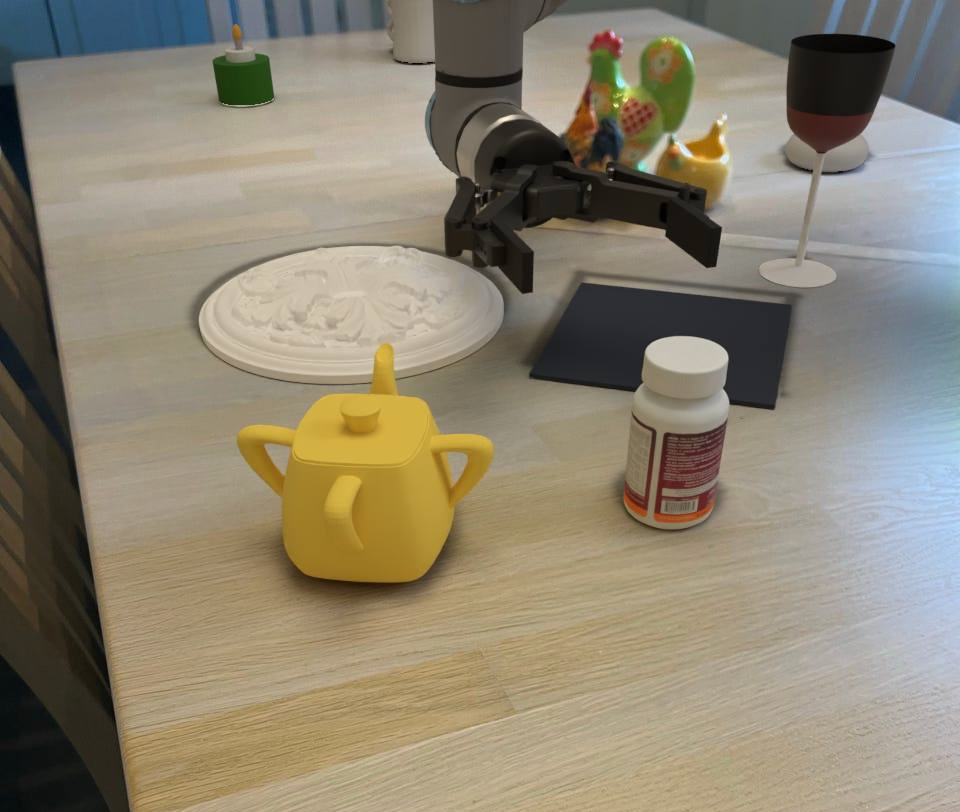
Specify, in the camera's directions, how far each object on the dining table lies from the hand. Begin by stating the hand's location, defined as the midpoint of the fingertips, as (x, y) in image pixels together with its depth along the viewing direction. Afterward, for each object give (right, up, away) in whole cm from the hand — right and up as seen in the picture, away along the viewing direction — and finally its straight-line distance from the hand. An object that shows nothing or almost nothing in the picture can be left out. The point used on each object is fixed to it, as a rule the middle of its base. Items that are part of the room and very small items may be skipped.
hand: (623, 260), depth 68 cm
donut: (+34, +34, +59) cm, 76 cm away
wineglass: (+22, +11, +33) cm, 41 cm away
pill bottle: (+3, -16, +2) cm, 17 cm away
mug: (-21, +74, +106) cm, 131 cm away
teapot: (-17, -19, 0) cm, 25 cm away
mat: (+7, +1, +22) cm, 23 cm away
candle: (-45, +56, +86) cm, 112 cm away
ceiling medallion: (-21, +5, +27) cm, 35 cm away
